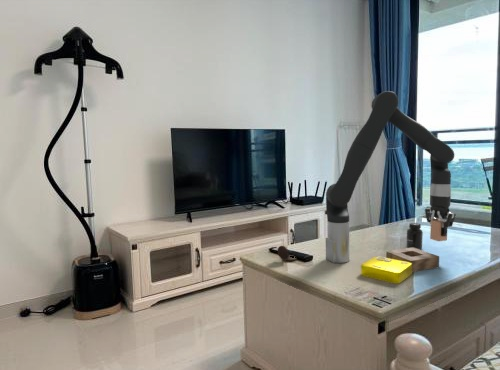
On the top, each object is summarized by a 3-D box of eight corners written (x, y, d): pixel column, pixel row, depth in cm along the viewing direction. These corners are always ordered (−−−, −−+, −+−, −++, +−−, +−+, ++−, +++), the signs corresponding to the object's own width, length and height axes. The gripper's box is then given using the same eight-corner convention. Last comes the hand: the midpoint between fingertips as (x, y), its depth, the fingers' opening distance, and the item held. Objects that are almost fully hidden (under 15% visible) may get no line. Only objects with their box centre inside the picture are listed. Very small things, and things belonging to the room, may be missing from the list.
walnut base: (410, 272, 137) (410, 260, 137) (386, 261, 151) (386, 251, 150) (439, 267, 142) (439, 256, 141) (412, 257, 155) (413, 247, 154)
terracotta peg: (438, 241, 147) (439, 222, 146) (430, 238, 151) (430, 220, 150) (446, 240, 148) (447, 221, 147) (438, 237, 152) (439, 219, 151)
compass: (299, 259, 157) (299, 243, 156) (286, 264, 152) (286, 247, 151) (286, 255, 163) (286, 240, 162) (274, 259, 158) (273, 243, 157)
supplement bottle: (405, 249, 166) (406, 224, 165) (406, 245, 172) (407, 221, 171) (422, 251, 163) (422, 225, 161) (422, 247, 169) (423, 222, 167)
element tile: (359, 275, 137) (359, 263, 136) (376, 265, 147) (376, 254, 147) (398, 285, 126) (398, 272, 126) (413, 273, 137) (413, 261, 136)
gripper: (420, 192, 153) (418, 231, 155) (447, 197, 139) (445, 239, 141) (433, 192, 155) (432, 230, 157) (462, 196, 142) (460, 237, 143)
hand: (438, 234), depth 149 cm, fingers closed on terracotta peg, 4 cm apart
